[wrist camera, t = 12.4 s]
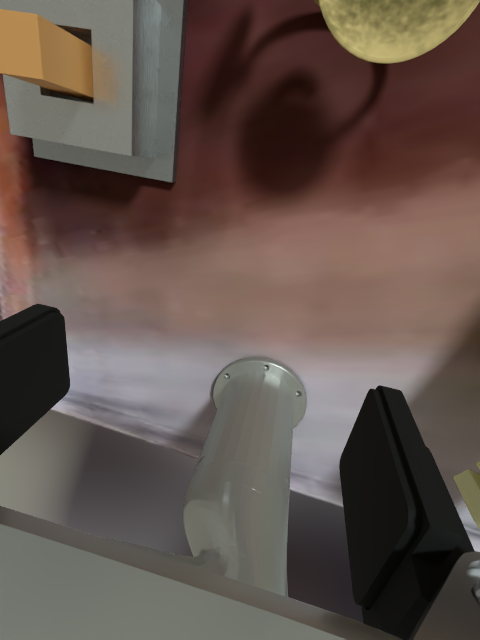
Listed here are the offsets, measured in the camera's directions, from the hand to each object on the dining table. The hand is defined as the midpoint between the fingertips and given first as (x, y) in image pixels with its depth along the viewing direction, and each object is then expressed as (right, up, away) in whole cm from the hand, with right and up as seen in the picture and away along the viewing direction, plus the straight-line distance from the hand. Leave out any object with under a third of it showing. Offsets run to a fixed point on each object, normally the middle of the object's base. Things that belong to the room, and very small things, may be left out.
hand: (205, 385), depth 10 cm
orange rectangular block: (-13, +25, +22) cm, 36 cm away
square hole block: (-12, +26, +23) cm, 36 cm away
